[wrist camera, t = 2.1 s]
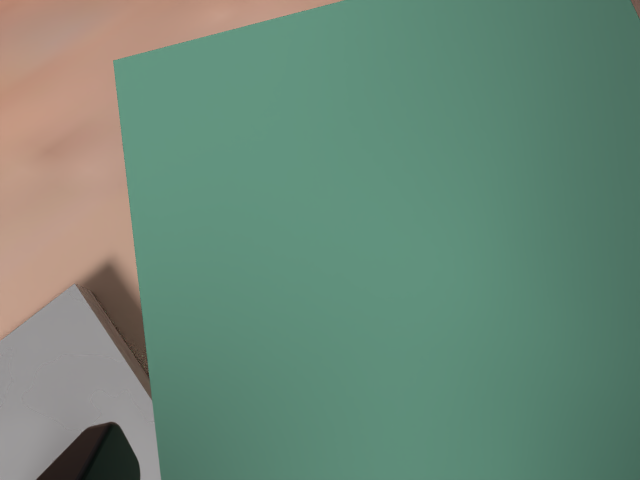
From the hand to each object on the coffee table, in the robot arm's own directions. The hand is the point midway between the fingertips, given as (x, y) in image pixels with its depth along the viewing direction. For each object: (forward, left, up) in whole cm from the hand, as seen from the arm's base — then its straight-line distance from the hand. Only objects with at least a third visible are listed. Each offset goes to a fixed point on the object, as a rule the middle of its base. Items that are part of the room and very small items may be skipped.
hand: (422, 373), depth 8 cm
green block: (+1, 0, -9) cm, 9 cm away
